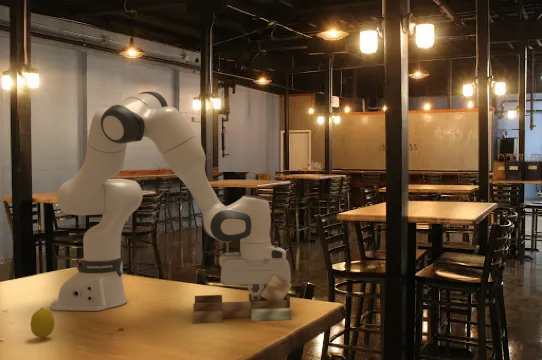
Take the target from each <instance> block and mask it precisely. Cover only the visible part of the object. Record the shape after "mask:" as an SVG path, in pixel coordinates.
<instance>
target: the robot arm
mask: <svg viewBox="0 0 542 360" xmlns="http://www.w3.org/2000/svg"><path fill="white" fill-rule="evenodd" d="M143 138H148V139H150V140H151V141H152V142H153V144H155V146H156V148H157V150H158V152H159V153H160V155H161V157H162V158H163V160H164V162H165V163H166V164H167V165H168V168H170V170H172V172H173V173H174V174H175V175H176V176H177V177H178V178H179V179H180V181H182V182H183V183H184V185H185V186H186V188H187V189H188V191H189V193H190V196H191V197H192V198H193V200H194V202H195V204H196V205H197V207H198V209H199V211H200V215H201V225H202V228H203V230H204V232H205V234H207V235H208V236H209V237H210V238H213V239H215V240H217V241H219V242H222V243H231V242H234V241H239V243H240V244H239V250H240V251H233V252H229V251H226V252H224V253H222V254H221V255H220V256H219V259H218V260H219V263H218V264H219V267H220V268H221V271H220V272H221V273H220V283H221V284H222V285H224V286H239V285H243V286H244V285H247V289H248V291H249V292H250V293H249V294H251V298H252V300H260V294H261V292H262V290H263V289H264V284H268V282H269V281H270V279H271V278H272V276H273V274H275V275H276V276H278V277H280V278H281V279H283V280H284V281H286V282H288V283H289V282H290V283H291V280H292V275H291V274H292V272H291V268H290V263H289V261H288V259H287V251H286V250H285V249H284V248H282V247H278V246H275V245H273V244H271V243H272V241H271V237H270V230H271V228H272V227H271V225H272V224H271V223H272V222H271V221H272V219H271V209H270V203H269V201H268V200H267V199H266V198H264V197H261V196H257V195H256V196H255V195H247V194H245V195H242V197H241V198H239V199H237V200H236V201H235V202H233V203H231V204H229V205H225V204H224V203H222V202H221V200H219V197H218V196H217V193H216V192H215V190H214V189H213V187H212V185H211V183H210V182H209V180H208V177H207V175H206V159H207V158H206V154H205V151H204V148H203V146H202V143H201V141H200V139H199V138H198V135H197V134H196V132H195V130H194V129H193V128H192V126H191V124H190V123H189V122H188V120H187V119H186V118H185V116H184V115H183V114H182V112H180V110H179V109H177V108H176V107H174V106H169V105H168V102H167V101H166V99H165V98H164V96H163V95H161V94H160V93H158V92H156V91H142V92H140V93H138V94H136V95H131V96H130V97H127V98H125V99H124V100H121V101H120V102H118V103H117V104H114V105H111V106H103V107H101V108H99V109H97V110H96V111H95V113H94V115H93V117H92V119H91V123H90V127H89V131H88V136H87V146H86V152H85V157H84V162H83V164H82V166H81V168H80V169H79V170H78V172H76V174H75V175H74V176H73V177H71V178H70V179H68V180H67V181H65V182H63V183H62V184H61V185H60V186H59V188H58V191H57V194H56V203H57V206H58V207H59V209H60V210H61V212H63V213H64V214H68V215H74V216H91V215H92V216H93V215H102V218H101V219H100V220H101V221H100V222H99V223H98V224H96V225H94V226H92V227H90V228H89V229H88V230H87V231H86V232H85V233H84V234H83V257H82V258H80V259H79V260H78V261H77V263H76V268H77V272H75V274H73V275H72V276H71V277H69V279H67V280H66V281H65V282H64V283H63V284H62V285H61V287H60V288H59V291H58V298H57V299H55V300H53V302H51V304H50V309H51V310H52V311H75V312H76V311H78V312H79V311H84V312H85V311H87V312H92V311H93V312H98V311H99V312H100V311H103V310H106V309H110V308H116V307H119V306H122V305H124V304H126V303H127V301H128V300H127V297H126V294H125V289H124V282H123V277H122V276H123V270H124V268H123V267H124V266H123V265H124V263H123V258H122V257H121V243H122V234H123V233H122V232H123V229H124V226H125V224H126V222H127V220H128V219H129V217H131V215H132V214H133V213H134V212H135V211H136V210H138V209H139V207H140V206H141V204H142V201H143V197H144V195H143V194H144V193H143V190H142V188H141V185H140V184H139V183H138V181H136V180H133V179H126V178H113V177H115V176H117V175H118V174H119V173H121V171H122V170H123V168H124V165H125V159H126V153H127V152H126V151H127V145H128V144H129V143H134V142H135V143H136V142H140V141H142V140H143ZM253 284H259V288H260V289H259V291H258V292H256V293H254V292H253V291H252V289H251V288H253Z"/></svg>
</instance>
